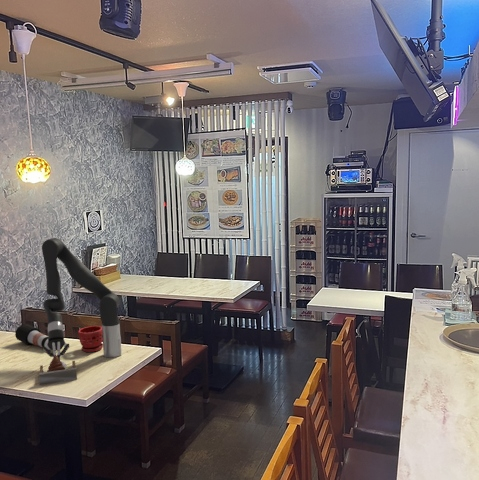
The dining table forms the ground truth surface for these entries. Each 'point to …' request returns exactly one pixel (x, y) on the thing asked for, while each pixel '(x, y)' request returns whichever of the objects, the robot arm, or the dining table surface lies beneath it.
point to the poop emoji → (56, 365)
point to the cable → (31, 336)
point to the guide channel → (57, 375)
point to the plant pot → (91, 338)
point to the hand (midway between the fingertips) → (57, 363)
